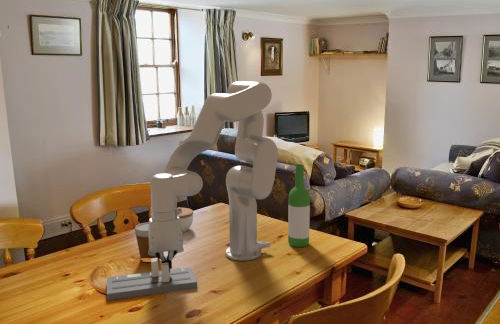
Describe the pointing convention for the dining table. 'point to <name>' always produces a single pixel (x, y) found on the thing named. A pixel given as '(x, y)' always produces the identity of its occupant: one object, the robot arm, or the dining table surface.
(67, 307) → the dining table surface
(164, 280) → the fader
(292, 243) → the wine bottle
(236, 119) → the robot arm
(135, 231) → the disposable coffee cup
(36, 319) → the dining table surface
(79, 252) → the dining table surface
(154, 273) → the fader
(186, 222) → the lidded jar
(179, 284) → the console
